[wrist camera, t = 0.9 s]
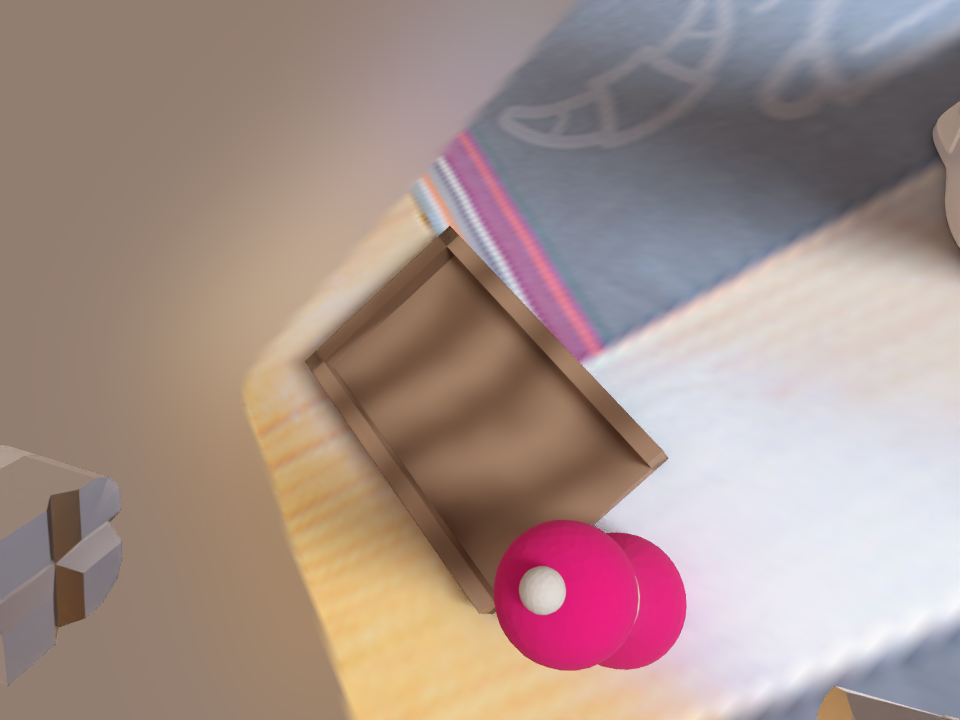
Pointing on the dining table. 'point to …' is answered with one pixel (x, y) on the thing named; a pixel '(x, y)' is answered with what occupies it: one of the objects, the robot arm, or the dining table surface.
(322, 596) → the dining table surface
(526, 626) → the pepper mill
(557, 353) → the walnut tray
